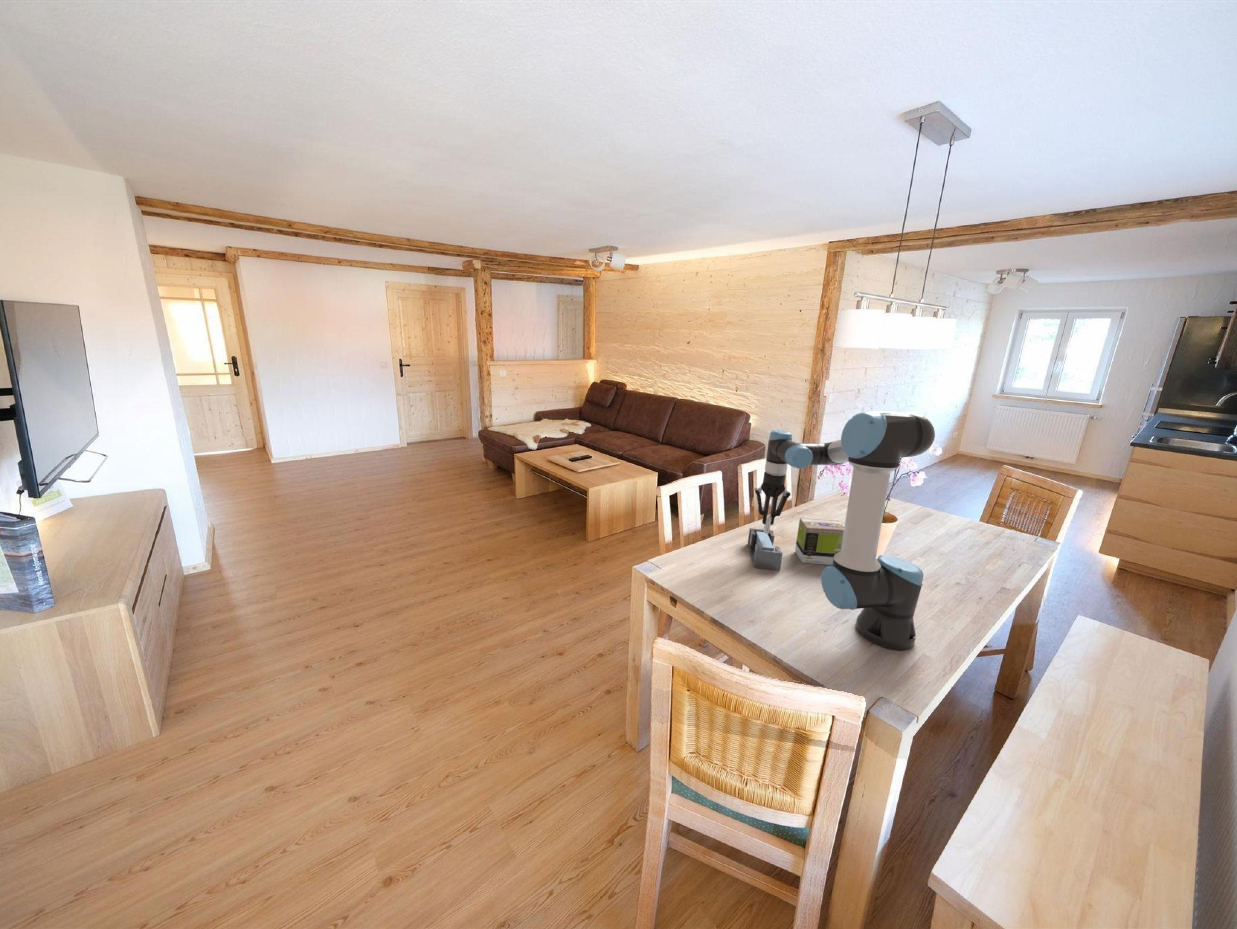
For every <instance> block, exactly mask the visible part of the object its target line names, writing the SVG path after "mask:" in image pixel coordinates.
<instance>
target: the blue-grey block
mask: <svg viewBox="0 0 1237 929" xmlns="http://www.w3.org/2000/svg"><path fill="white" fill-rule="evenodd" d="M756 544H759V546H760V549H761V550H768V551H775V547H774V544H773V545H772V543H771V541H770V538H769V536H768V534H767V533H764V532H757V531H756V538H755V545H756Z"/></svg>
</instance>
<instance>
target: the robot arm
mask: <svg viewBox="0 0 1237 929" xmlns="http://www.w3.org/2000/svg"><path fill="white" fill-rule="evenodd" d="M935 434H936V432H935V428H934V426H933V424H932V422H931V421H930V420H929V419H928V418H926V416H924V415H922V414H919V413H916V412H910V411H908V412H907V411H906V412H902V411H900V412H899V411H897V412H896V411H877V410H876V411H865V412H863V411H862V412H859V413H857V414H854V415H853V416H852V417H851V418H849V419H848V421H847V422H846V423H845V425H844V427H843V429H842V432H841V434H840V439H837V440H834V441H830V442H817V443H816V442H811V443H810V442H808V443H807V442H805V443H804V442H802V443H801V442H800V443H799V442H796V441H793V434H792V432H791V431H787V430H783V429H773V430H771V432H770V433H769V439H767V441H768V443H767V450H766V459H765V466H764V474H763V478H762V483H761V485H760V486H759V487H758V488H757V487H755V488H754V493H755V494H756V501H757V511H758V513H759V515H761V516H762V520H761V523H762V524H763V525H764V526H763V530H764V533H767V534H769V532H770V530H771V526H773V525H774V523H775V519H776V517H780V516H781V514H782V512H783V510H784V507H785V504H786V502H787V499H788V498H790V496H791V492H790V491H789V490H787V489H786V487H785V483H786V482H785V481H786V478H787V477H786V474H787V470H788V465H789V466H790V467H792V468H796V469H800V470H802V469H805V468H807V467H809V466H838V465H839V466H840V465H844V464H845V463H849V464H850V466H851V467H852V468H853V470H852V476H851V482H850V489H849V495H848V501H847V508H846V509H847V510H846V515H845V521H844V533H843V540H842V546H841V551H840V552H839V553H837V554H835V555H834V559H833V565H827V566H826V567H825V568H823V569H822V571H821V574H820V583H821V587H822V591H823V593H824V595H825V597H826V599H827V600H828V602H829V603H830V604H832V605H833V607H835V608H837V609H840V610H851V611H852V610H853V611H855V610H858V609H861V611H860V613H859V614H858V615H857V617H856V621H855V629H856V631H857V632H858V633H859V634H860V636H862V637H863V638H864V639H866V640H867V641H869V642H871V643H873V644H874V645H877V646H880V647H882V648H886V649H889V650H892V651H893V650H894V651H906V650H910V649H911V648H913V647H914V645H915V642H916V638H917V635H916V628H915V622H914V621H915V620H914V616H915V612H916V608H917V604H918V601H919V598H920V594H921V590H922V587H923V585H924V584H923V581H924V580H923V579H924V572H923V570H922V569H921V568H920V567H919V566H918V565H916V564H915V563H913V562H911V561H909V560H907V559H904V558H901V557H898V556H895V555H890V554H881V555H878V557H877V553H878V549H879V548H878V547H879V541H880V536H881V530H882V523H883V518H884V512H885V507H886V502H887V495H888V489H889V483H890V476H891V474H892V472H894V471H896V470H897V469H898V468H899V467H900V461H901V458H911V457H917V456H920V455H923V454H924V453H925V452H927V451H928V450H929V449H930V448H931V447H932V446H933V443H934V441H935V437H936V435H935ZM762 491H763V494H764V495H765V496H764V497H765V498H764V505H762V504H763V503H762V496H761V494H762ZM781 495H782V496H781ZM780 496H781V499H780V500H779V497H780ZM771 498H772V499H771ZM771 500H772V501H771ZM778 500H779V503H778ZM770 501H771V508H770V514H769V507H770ZM777 504H778V506H777Z"/></svg>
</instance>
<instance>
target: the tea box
mask: <svg viewBox="0 0 1237 929" xmlns="http://www.w3.org/2000/svg"><path fill="white" fill-rule="evenodd" d="M798 522H799V523H798V529H797V536H796V542H795V551H794V552H795V554H796V555H797V557H798V559H799V560H800V562H801V563H802V564H811V565H813V564H815V565H826V566H832V565H833V559H834V555H835V554H837V553H839V552H840V551H841V546H842V540H843V533H844V527H845V525H843V524H842V523H841V522H840V520H834V519H833V520H832V519H819V518H802V517H800V518H799V521H798Z"/></svg>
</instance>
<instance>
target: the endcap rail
mask: <svg viewBox="0 0 1237 929" xmlns="http://www.w3.org/2000/svg"><path fill="white" fill-rule="evenodd" d="M748 531H749V532H748V538H747V547H748V550H749V553H750V556H751V561H752V565H753V568H754V569H759V570H770V571H778V572H780V571H781V566H782V559H783V551H781V548H780V546H779V545H778V546H777V545H775V547H774V551H768V550H761V549H760V546H759V544H756V545H755V538H756V531H757V532H764V529H761V528H760V529H759V528H751V527H750V528H749V530H748ZM768 536H769V538H770V541H771V543H772V545H773V546H774V540H775V534H774V530H773V529H772V530H771V529H770V532H769V534H768Z"/></svg>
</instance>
